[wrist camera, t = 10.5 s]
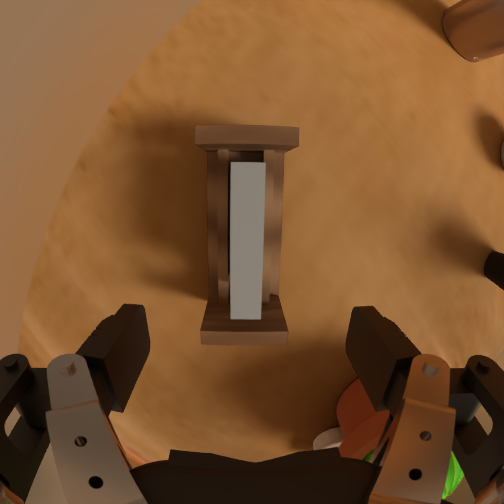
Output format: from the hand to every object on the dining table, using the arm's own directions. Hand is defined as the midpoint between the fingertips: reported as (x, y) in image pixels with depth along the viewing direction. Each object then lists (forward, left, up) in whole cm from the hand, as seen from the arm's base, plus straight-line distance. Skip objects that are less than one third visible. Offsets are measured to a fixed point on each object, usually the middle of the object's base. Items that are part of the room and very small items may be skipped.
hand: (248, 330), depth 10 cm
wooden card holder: (0, 0, -22) cm, 22 cm away
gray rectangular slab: (0, 0, -21) cm, 21 cm away
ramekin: (+40, +17, -22) cm, 49 cm away
